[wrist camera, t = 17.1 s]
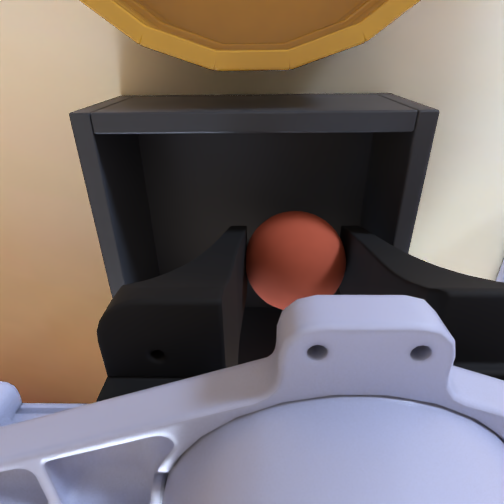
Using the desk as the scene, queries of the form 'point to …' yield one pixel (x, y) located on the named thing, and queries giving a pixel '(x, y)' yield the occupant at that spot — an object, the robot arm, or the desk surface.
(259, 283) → the terracotta ball
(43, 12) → the desk surface
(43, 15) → the desk surface
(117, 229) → the bin
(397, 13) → the bowl
